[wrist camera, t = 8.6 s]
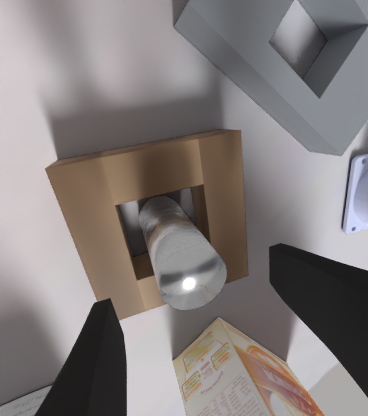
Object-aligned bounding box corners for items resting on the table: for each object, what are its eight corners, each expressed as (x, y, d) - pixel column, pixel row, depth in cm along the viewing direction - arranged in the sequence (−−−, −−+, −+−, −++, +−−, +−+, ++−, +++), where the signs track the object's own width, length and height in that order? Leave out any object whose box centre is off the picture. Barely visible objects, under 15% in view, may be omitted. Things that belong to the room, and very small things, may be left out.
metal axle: (177, 191, 17) (223, 240, 10) (183, 228, 18) (228, 296, 11) (134, 201, 17) (152, 262, 9) (144, 239, 18) (166, 319, 11)
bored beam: (370, 63, 18) (415, 53, 16) (309, 151, 19) (341, 156, 17) (249, -114, 12) (287, -179, 10) (173, 27, 14) (188, 3, 11)
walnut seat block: (219, 129, 17) (240, 130, 14) (230, 255, 21) (248, 275, 18) (57, 160, 14) (44, 168, 12) (107, 295, 18) (106, 324, 16)
